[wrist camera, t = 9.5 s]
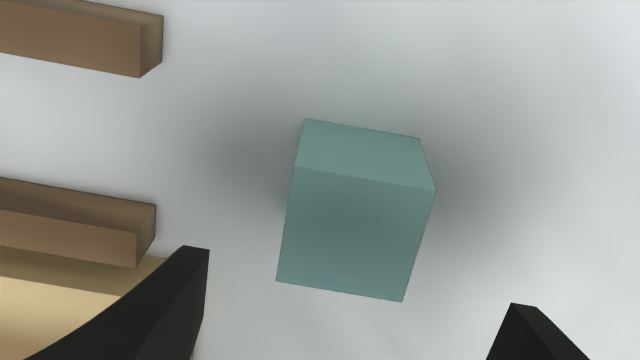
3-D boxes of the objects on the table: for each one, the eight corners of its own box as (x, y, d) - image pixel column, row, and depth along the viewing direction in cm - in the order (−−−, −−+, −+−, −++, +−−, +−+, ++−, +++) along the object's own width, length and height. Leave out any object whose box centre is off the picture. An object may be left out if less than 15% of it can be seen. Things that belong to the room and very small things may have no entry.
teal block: (392, 233, 20) (402, 302, 16) (288, 215, 19) (275, 281, 16) (418, 137, 18) (436, 190, 14) (304, 117, 18) (293, 166, 14)
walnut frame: (146, 432, 25) (131, 471, 23) (-39, 403, 25) (-69, 439, 23) (163, 15, 16) (140, 27, 14) (-124, -39, 16) (-184, -35, 14)
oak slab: (190, 395, 24) (171, 453, 22) (21, 368, 24) (-19, 423, 21) (204, 258, 21) (183, 307, 18) (6, 224, 21) (-45, 268, 18)
